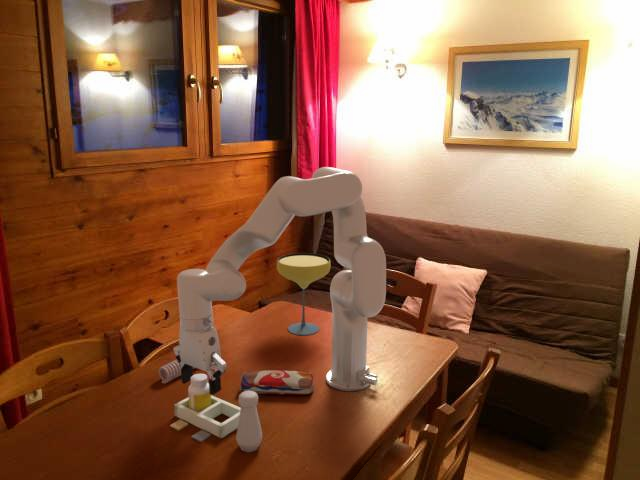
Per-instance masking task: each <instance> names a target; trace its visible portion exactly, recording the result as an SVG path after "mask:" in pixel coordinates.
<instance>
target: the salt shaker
mask: <svg viewBox="0 0 640 480" xmlns="http://www.w3.org/2000/svg"><path fill="white" fill-rule="evenodd" d="M258 394H259V393H255V392H254V391H244V392H243V391H242V392H241V393H240V394H238V405H239V407H240V408H241V410H240V417H239V423H238V428H237V429H236V436H235V441H236V443H237V444H238V446H239V448H240V450H241V451H242V452H247V453H251V452H252V453H253V452H255V451H257V450H258V447H259V446H260V444H261V442H262V441H263V430H262V427H261V421H260V418H259V414H258V408H257V405H258V403H259V395H258Z"/></svg>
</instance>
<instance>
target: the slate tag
mask: <svg viewBox="0 0 640 480" xmlns="http://www.w3.org/2000/svg"><path fill="white" fill-rule="evenodd" d="M211 435H212V434H211V433H209V432H207V431H205V430H203V429H201V430H200V431H197V432H196V433H194V434H192V435H191V438H192V439H194V440H196V441H197V442H199V443H202V442H204V441H205V440H207V439H208V438H210V437H211Z"/></svg>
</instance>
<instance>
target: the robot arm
mask: <svg viewBox="0 0 640 480" xmlns="http://www.w3.org/2000/svg"><path fill="white" fill-rule="evenodd" d="M362 192H363V184H362V181H361V179H360V177H359V176H358V175H357V174H355V173H354V172H352V171H349V170H344V169H340V168H335V167H333V166H332V167H331V166H330V167H329V166H323V167H319V168H318V169H316V170H315V171H314V172H313V173H312V176H311V178H307V179H306V178H305V179H304V178H300V177H296V176H290V175H288V176H287V175H286V176H282V177H280V178H279V179H278V180H277V181H276V182H275V183H274V184H273V185H272V187H270V190H269V191H268V192H267V194H266V195H265V196H264V198H262V200H261V201H260V203H259V204H258V206H257V207H256V208H255V210H254V211H253V213H252V214H251V216H250V217H249V218H248V219H247V221H246V222H245V223H244V224H243V225H241V226H240V227H239V228H238V229H237V230H236V231H235V232H233V233H232V234H231V235H230V236H228V238H226V239H225V241H224V242H223V243H222V244H221V245H220V246H219V247H218V249H217V251H216V252H215V253H214V254H213V256H212V257H211V259H210V261H209V262H208V263H207V265H206V267H205V269H201V268H191V269H189V268H188V269H185V270H183V271H181V272H180V273H178V275H177V277H176V286H177V300H178V311H179V323H180V325H179V333H178V345H176V346H174V347H173V348H172V349H173V352H174V354H175V360H176V359H177V361H178V362H179V367H180V368H182V369H181V376H180V377H181V383H182V384H187V383H189V382H191V377H192V376H193V375H194V369H199V370H202V371H205V372H206V373H207V376H208V377H209V378H210V379H208V383H209V390H210V395H212V396H215V394H217V393H219V392H220V391H221V390H222V382H221V381H222V380H221V377H222V376H223V375H224V374H225V372H226V369H227V367H228V363H226V361H225V360H224V359H222V354H221V344H220V340H219V335H218V332H217V328H216V326H214V325H215V322H214V317H213V305H212V303H213V302H212V301H217V302H218V301H224V302H226V301H229V302H230V301H234V300H236V299H237V300H238V299H239V298H240V297H241V296H243V294H244V293H245V291H246V289H247V281H246V279H245V277H244V275H243V274H242V273H241V271H239V269H240V267H241V266H242V265H243V263H244V262H245V261H246V260H247V259H248V258H249V257H250V256H251V255H252V254H254V253H255V252H256V251H257V252H258V251H259V250H262V249H264V248H268V247H270V246H273V245H274V244H275V243H276V242H277V241H278V239H279V238H280V237H281V236H282V234H283V233H284V231H285V230H286V228H287V227H288V226H289V224H290V223H291V222H292V220H293V219H294V217H295V216H297V217H309V216H315V215H320V214H324V213H328V212H331V214H332V219H333V254H334V255H333V256H334V259H335V260H336V262H337V263H338V264H339V265H341V266H342V267H344V268H346V269H343V270H341V271H338V272H337V273H336V274H335V275H334V276H333V278H331V282H330V285H329V286H330V287H329V296H330V301H331V302H330V303H331V309H332V311H331V312H332V330H331V331H332V333H331V334H332V335H331V338H332V341H331V369H330V370H329V371H328V372H327V373H326V375H325V381H326V383H327V384H328V385H329V386H330V387H331V388H334V389H336V390H340V391H342V392H343V391H345V392H355V391H356V392H357V391H361V390H364V389H366V388H367V387H369V386H370V385H371V386H375V387H376V386H377V384H378V374H376V373H372V372H370V366H369V365H367V353H368V352H367V347H368V326H369V325H368V322H369V321H368V319H369V318H372V317H376V315H378V314H379V313H380V312H381V310H382V309H383V308H384V305H385V303H386V295H387V257H386V254H385V251H384V248H383V247H382V245H381V244H380V242H378V241H377V240H375V239H373V238H372V237H371V238H370V237H369V236H368V233H367V232H368V231H367V217H366V216H367V215H366V214H367V213H366V208H365V203H364V201H363V199H362V197H361V195H362ZM193 367H195V368H194V369H193ZM213 370H214V372H213Z"/></svg>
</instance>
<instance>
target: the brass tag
mask: <svg viewBox="0 0 640 480" xmlns="http://www.w3.org/2000/svg"><path fill="white" fill-rule="evenodd" d="M188 426H189V422H187V421H185V420H182V419H178V420H177V421H175V422H173V423H171V424H170V425H169V427H170V428H171V429H173V430H176V431H178V432H179V431H181V430H183V429H185V428H186V427H188Z"/></svg>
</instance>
